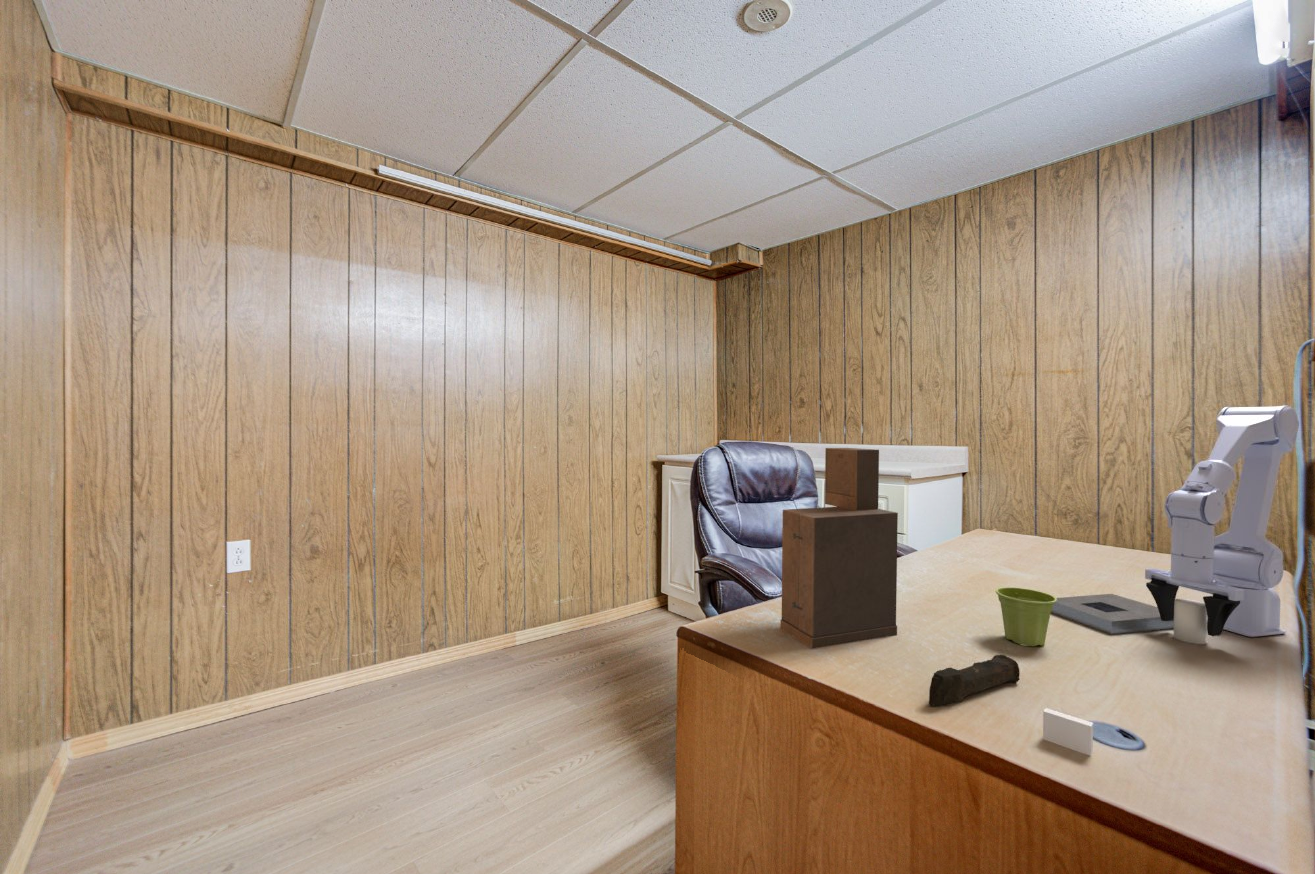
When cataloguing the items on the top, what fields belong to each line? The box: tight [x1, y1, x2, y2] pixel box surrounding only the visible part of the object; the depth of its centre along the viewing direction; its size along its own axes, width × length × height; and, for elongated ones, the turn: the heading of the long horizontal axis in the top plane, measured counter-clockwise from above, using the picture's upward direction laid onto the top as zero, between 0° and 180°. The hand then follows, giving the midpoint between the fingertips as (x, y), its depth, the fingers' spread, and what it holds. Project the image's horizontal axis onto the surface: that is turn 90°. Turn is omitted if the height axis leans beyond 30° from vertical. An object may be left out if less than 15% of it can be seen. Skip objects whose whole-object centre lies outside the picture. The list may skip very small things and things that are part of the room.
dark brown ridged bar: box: [928, 654, 1020, 707], centre depth 82 cm, size 19×4×5 cm, turn 116°
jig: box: [1050, 593, 1174, 635], centre depth 114 cm, size 18×14×2 cm
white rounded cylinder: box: [1173, 598, 1208, 645], centre depth 103 cm, size 4×4×7 cm
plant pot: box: [995, 586, 1058, 647], centre depth 102 cm, size 9×9×9 cm
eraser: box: [1042, 707, 1094, 757], centre depth 68 cm, size 1×5×4 cm, turn 43°
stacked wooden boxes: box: [779, 447, 899, 649], centre depth 107 cm, size 19×14×35 cm
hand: (1189, 627), depth 103 cm, fingers open, 7 cm apart
